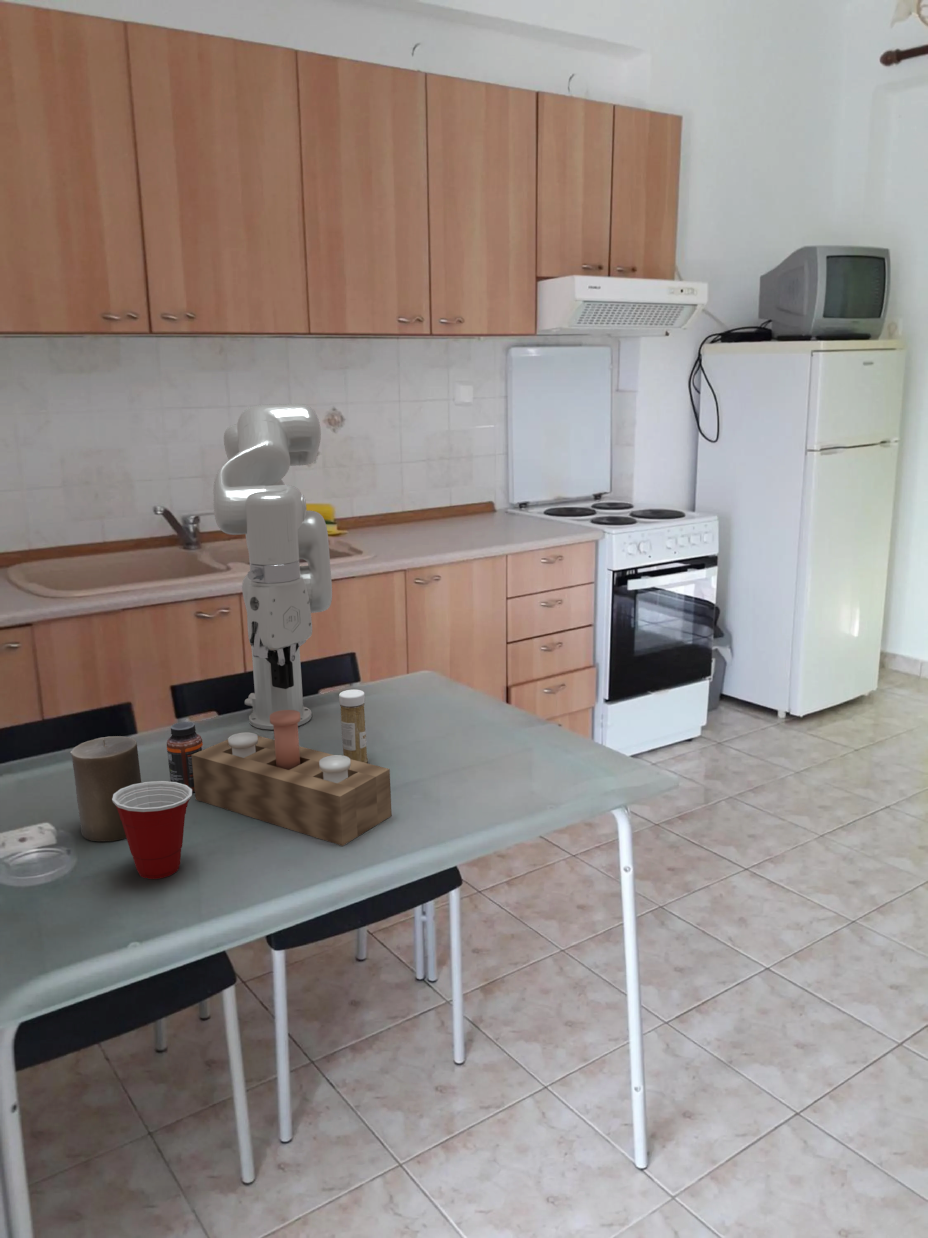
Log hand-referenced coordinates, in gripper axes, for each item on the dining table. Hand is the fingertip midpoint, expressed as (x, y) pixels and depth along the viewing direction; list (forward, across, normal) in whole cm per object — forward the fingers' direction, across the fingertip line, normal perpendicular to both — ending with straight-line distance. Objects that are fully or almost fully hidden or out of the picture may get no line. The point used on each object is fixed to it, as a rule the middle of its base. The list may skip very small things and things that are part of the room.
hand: (283, 686), depth 155 cm
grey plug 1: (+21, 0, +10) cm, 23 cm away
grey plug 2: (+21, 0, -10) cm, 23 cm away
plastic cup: (+21, -25, +2) cm, 33 cm away
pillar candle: (+21, -20, +19) cm, 35 cm away
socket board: (+21, 0, 0) cm, 21 cm away
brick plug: (+15, 0, 0) cm, 15 cm away
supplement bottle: (+21, -3, +21) cm, 30 cm away
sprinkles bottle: (+21, +20, +3) cm, 29 cm away
